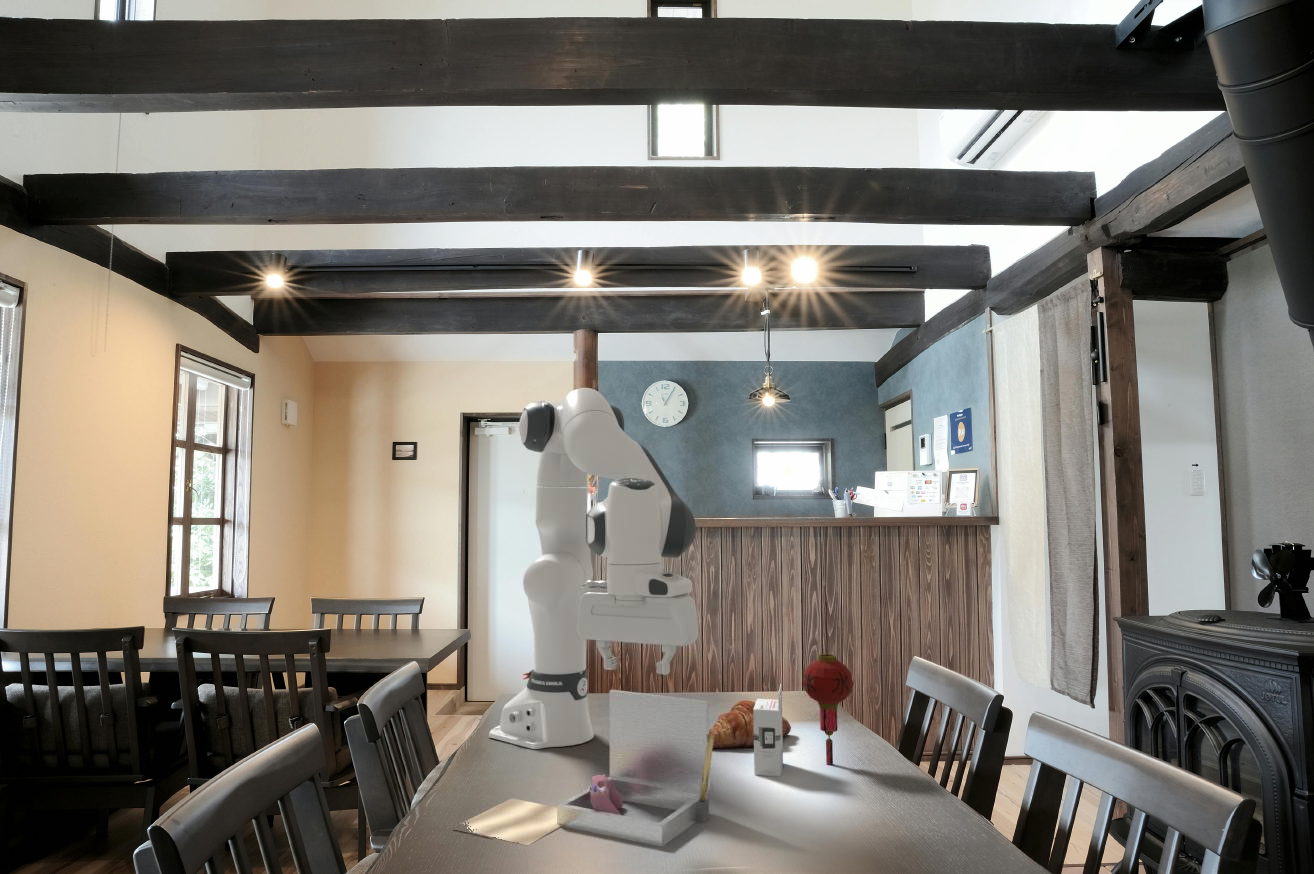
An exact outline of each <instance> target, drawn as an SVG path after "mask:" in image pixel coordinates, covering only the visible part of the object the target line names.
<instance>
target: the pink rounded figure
mask: <svg viewBox="0 0 1314 874" xmlns="http://www.w3.org/2000/svg"><path fill="white" fill-rule="evenodd" d="M608 777H609V776H606V773H604V774H603V775H602V774H596V775H594V776H592V777H591V785H589V786H588V788H589V791H590V794H591V802H592V806H593V808H594V809H593V810H597V811H602V812H607V813H612V814H617V815H622V814H621V813H620V811H619V810H618V809H621V808H622V807H624V801H623V799H622V797H621V795H620V794H619V793H618V791H617V790H616V789H615V788H614V787H613V785H612V784H611V782H610V781H609V779H608Z"/></svg>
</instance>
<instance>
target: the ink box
mask: <svg viewBox="0 0 1314 874" xmlns="http://www.w3.org/2000/svg"><path fill="white" fill-rule="evenodd" d="M778 689H779V690H778V693H777V696H778V697H777V699H773V698H772V699H771V698H757V699H756V701H755V706H754V709H753V716H754V747H753V760H754V761H753V766H754V769H753V770H754V775H755V776H768V777H781V776H782V772H783V763H784V754H783V753H784V751H783V750H784V745H783V744H784V743H783V739H784V737H783V735H782V717H783V685H782V683H780V685H779V688H778Z"/></svg>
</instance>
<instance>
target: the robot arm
mask: <svg viewBox="0 0 1314 874" xmlns="http://www.w3.org/2000/svg"><path fill="white" fill-rule="evenodd" d="M518 423H519V425H518V430H519V436H520V439H521V443H522V444H523V446H524V447H525V448H526V449H527V450H529V451H532V452H535V453H540V455H539V460H538V467H537V474H536V487H535V489H536V491H535V492H536V494H535V525H536V529H537V530H538V535H539V541H540V547H541V555H540V556H538V557H537V558H535V559H534V560H533V562H532V563H531V564H530V565H529V566H528V567H527V569H526V570H525V572H524V574H523V580H522V582H523V583H522V586H523V590H524V593H525V595H526V597H527V601H528V607H529V614H530V618H531V624H532V632H533V634H532V635H533V669H531V670H530V671H528V672H526V673H523V674H522V676H524V677H523V678H522V679H523V680H527V683H526V686H525V688H524V689H522V690H521V691H520V692H519V693H517V695H515V696H514V697H513V698H511V699H510V700H509V701H508V702H507V703H505V705H504V706H503V708H502V710H501V711H502V712H501V715H500V723H499V725H498V726H494V728H492V729H490V731H489V733H488V737H489V738H491V739H495V740H499V741H503V742H506V743H510V744H512V745H517V746H521V747H524V748H527V749H532V750H538V749H539V750H540V749H546V748H554V747H555V748H557V747H558V748H559V747H567V746H568V747H569V746H575V745H580V744H584V743H586V742H588V741H591V740H592V739H593V738H594V736H595V735H594V732H593V728H592V725H591V720H590V714H589V706H588V691H589V689H588V688H589V670H588V668H587V656H586V655H587V653H586V651H587V644H586V642H587V640H592V641H593V640H595V641H596V647H597V649H598V652H599V653H600V655H601V657H602V658H603V669H604V670H607V671H608V670H609V671H611V670H612V671H614V670H616V669H617V668H618V656H614V655H613V653H612V651H611V649H610V646H612V642H620V643H621V642H622V643H636V644H645V645H647V644H648V645H660V646H661V652H662V653H664V655H663V657H662V659H661V660H660V661H657V662H656V663H655V667H656V671H655V672H656V674H657V675H662V676H663V675H664V676H666V675H669V674H670V672H671V663H670V662H671V661H672V659H673V658H674V656H675V654H676V652H677V647H687V646H690V645H693V644H694V643H695V642H696V640H697V639H698V638H699V622H698V612H697V606H696V601H695V600H694V599H693V597H692V596H691V595H689V594H690V593H691V592H692V591H693V581H692V580H691V579H690V578H688V577H684V576H682V575H679V574H677V573H674V572H671V571H669V570H667V569H665V568H664V565H663V564H664V563H663V562H664V561H663V558H671V559H674V558H675V559H678V558H679V557H681V556H682V555H683V554H685V552H687V550H688V549H689V548H690V547H691V546H692V545H693V544H694V541H695V539H696V532H697V531H696V530H697V528H696V527H697V526H696V519H695V515H694V514H693V512H692V510H691V508H690V507H689V505H688V504H687V503H686V502H685V501H684V500H683V499H682V497H680V496H679V495H678V494H677V493H676V491H675V489H674V488H673V487H672V485H671V483H670V481H669V480H668V478H667V477H666V475H665V474H664V473H663V470H662V469H661V468H660V466H659V464H658V463H657V462H656V460H655V458H654V457H653V456H652V454H651V453H650V452H649V450H648V449H647V448H646V447H645V446H643V445H642V444H640V443H638V442H637V441H635V440H634V439H633V438H631V437H630V436H629V435H628V434H627V433H626V424H625V423H626V422H625V418H624V415H623V413H622V411H621V410H620V408H619V407H617V406H615V405H611V404H609V402H608V401H607V400H606V398H605V396H604V395H603V394H602V393H600V392H599V390H598V391H597V390H596V389H594V388H590V387H579V388H577V389H574V390H572V391H570V392H569V393H568V394H567V395H566V396H565V397H564V399H563V400H562V401H548V402H547V401H545V400H540V401H533V402H530V403H529V404H527V405H526V406H525V407H524V409H523V410H522V413H521V416H520V418H519V422H518ZM588 475H589V476H594V477H598V478H599V477H601V478H605V479H611V480H612V481H611V482H610V483H609V486H608V492H607V497H605V499H604V500H603V501H599V502H597V503H595V505H593V506H592V507H591V509H589V510H588V493H589V492H588V491H589V488H588V487H589V480H588V479H589V478H588ZM591 551H592V552H593V553H594V554H595V555H597V556H598V557H603V558H606V559H607V560H606V580H593V578H594V569H593V565H592V558H591V556H592V555H591Z"/></svg>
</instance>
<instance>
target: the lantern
mask: <svg viewBox="0 0 1314 874" xmlns="http://www.w3.org/2000/svg"><path fill="white" fill-rule="evenodd" d="M827 602H828V601H825V603H824V604H825V606H824V607H825V609H824V610H825V638H826V640H825V644H826V645H825V647H826V649H825V650H826V651H825V652H826V653H822V654H821V653H819V654H818V655H817V656H818V657H817V659H816V660H814V661H812V662H811V663H809V664H808V666H807V667H806V669H804V673H803V678H802V683H803V688H804V691H805V692H806V694H807V695H808V696H809V698H810V699H812V700H814V701H815V702H817V704H818V707H819V719H820V720H819V725H820V728H819V729H820V731H821V732H824V733H825V735H826V736H828V738H826V740H825V749H826V750H825V753H826V754H825V755H826V756H825V757H826V759H825V762H826V765H829V766H832V765H834V749H833V747H834V746H833V742H834V741H833V740H832V738H831V736H832V735H833V734H834V733H835V732H837V731H838V706H839V704H840V703H841V702H843V701H845V700H847V699H848V697H849V696H850V694H851V693H852V691H853V686H854V681H853V677H852V672H851V670H850V669H849V668H848V667H847V666H846V664H845V663H843V662H840V661H839V660H838V658H837V655H835V654H832V653H829V652H828V651H829V649H828V648H829V647H828V645H829V643H828V608H827V607H828V605H827Z"/></svg>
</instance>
